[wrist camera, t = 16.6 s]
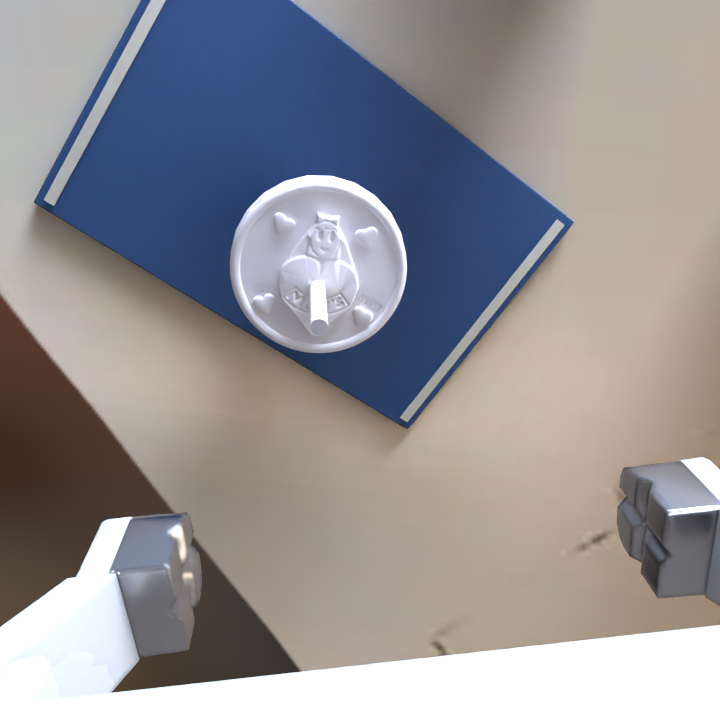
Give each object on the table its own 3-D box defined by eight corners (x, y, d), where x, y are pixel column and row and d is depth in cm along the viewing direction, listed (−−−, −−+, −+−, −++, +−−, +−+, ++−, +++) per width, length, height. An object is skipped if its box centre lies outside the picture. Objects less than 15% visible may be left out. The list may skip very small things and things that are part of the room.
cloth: (186, -81, 28) (184, -83, 28) (571, 220, 34) (575, 222, 34) (36, 200, 32) (32, 202, 31) (406, 426, 38) (408, 430, 37)
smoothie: (242, 274, 33) (202, 394, 21) (256, 140, 31) (221, 181, 18) (369, 291, 34) (407, 418, 21) (392, 162, 32) (450, 218, 19)
